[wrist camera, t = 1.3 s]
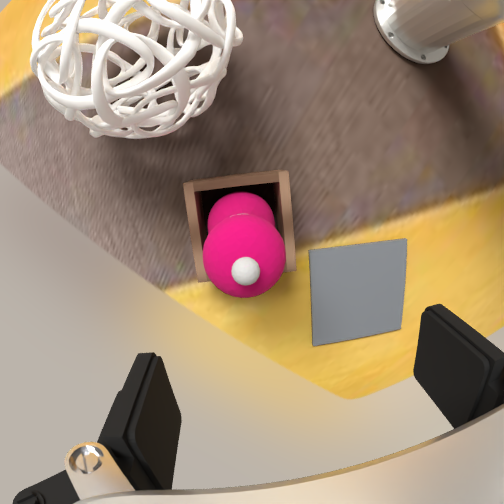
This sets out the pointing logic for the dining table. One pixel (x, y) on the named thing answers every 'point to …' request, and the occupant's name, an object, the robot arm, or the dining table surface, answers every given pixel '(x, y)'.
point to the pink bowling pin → (243, 246)
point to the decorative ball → (140, 86)
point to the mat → (357, 290)
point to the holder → (196, 186)
